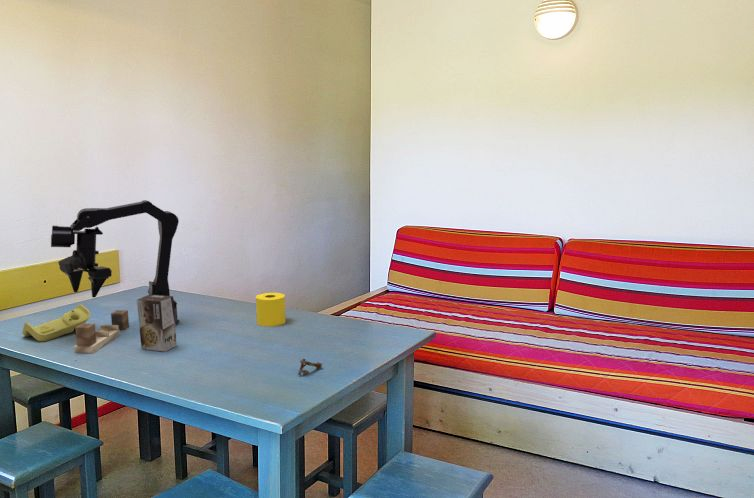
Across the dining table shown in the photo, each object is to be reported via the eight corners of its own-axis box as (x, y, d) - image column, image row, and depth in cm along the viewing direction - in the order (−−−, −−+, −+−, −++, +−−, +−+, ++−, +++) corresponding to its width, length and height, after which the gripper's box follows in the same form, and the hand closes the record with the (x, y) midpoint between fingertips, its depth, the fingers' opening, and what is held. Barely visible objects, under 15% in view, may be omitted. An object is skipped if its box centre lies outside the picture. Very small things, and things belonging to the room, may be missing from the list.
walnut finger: (129, 327, 217) (127, 310, 216) (122, 331, 213) (121, 314, 212) (117, 326, 217) (116, 310, 216) (111, 331, 213) (110, 314, 212)
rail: (119, 335, 208) (117, 311, 207) (93, 352, 192) (91, 327, 190) (102, 334, 209) (100, 311, 207) (74, 352, 192) (72, 327, 191)
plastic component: (41, 336, 200) (22, 319, 204) (38, 354, 204) (21, 337, 207) (96, 316, 217) (78, 301, 220) (93, 333, 220) (76, 317, 224)
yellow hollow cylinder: (255, 319, 225) (254, 293, 223) (283, 317, 228) (282, 291, 226) (258, 327, 216) (257, 300, 214) (287, 324, 218) (286, 298, 217)
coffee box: (177, 345, 198) (174, 295, 195) (164, 352, 192) (160, 301, 189) (153, 342, 201) (150, 293, 198) (140, 349, 195) (136, 298, 192)
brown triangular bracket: (294, 373, 172) (298, 357, 173) (313, 376, 178) (318, 361, 179) (298, 375, 171) (303, 358, 172) (318, 378, 177) (322, 362, 178)
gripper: (44, 245, 201) (43, 292, 203) (82, 253, 192) (81, 303, 194) (76, 243, 211) (74, 288, 213) (113, 251, 202) (111, 298, 204)
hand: (84, 294), depth 206 cm, fingers open, 9 cm apart
